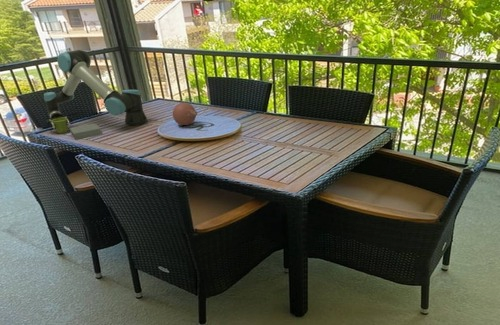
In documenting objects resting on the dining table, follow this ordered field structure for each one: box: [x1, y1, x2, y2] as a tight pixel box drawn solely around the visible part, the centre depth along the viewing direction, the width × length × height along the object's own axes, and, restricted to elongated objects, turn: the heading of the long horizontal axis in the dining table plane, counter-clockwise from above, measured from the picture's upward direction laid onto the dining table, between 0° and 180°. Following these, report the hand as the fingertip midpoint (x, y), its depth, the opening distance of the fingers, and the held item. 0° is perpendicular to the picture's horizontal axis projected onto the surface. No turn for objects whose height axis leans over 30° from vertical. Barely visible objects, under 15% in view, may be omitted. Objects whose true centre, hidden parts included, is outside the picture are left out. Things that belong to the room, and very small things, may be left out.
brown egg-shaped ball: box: [172, 102, 198, 126], centre depth 233 cm, size 15×20×15 cm
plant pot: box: [52, 116, 69, 134], centre depth 233 cm, size 9×9×9 cm
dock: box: [69, 122, 102, 141], centre depth 228 cm, size 16×14×4 cm
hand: (61, 125), depth 229 cm, fingers closed on plant pot, 8 cm apart
